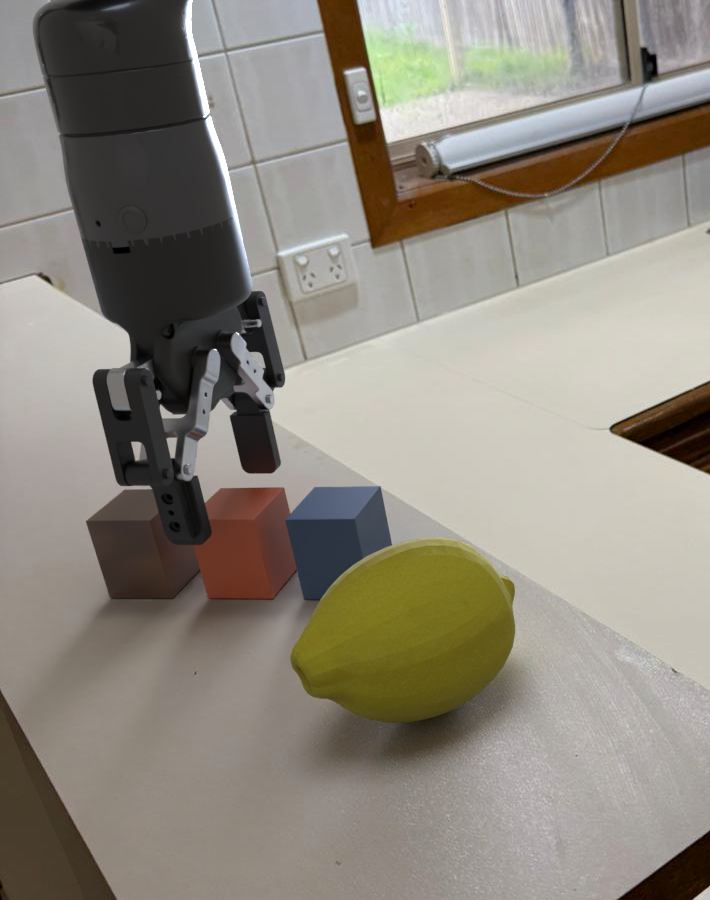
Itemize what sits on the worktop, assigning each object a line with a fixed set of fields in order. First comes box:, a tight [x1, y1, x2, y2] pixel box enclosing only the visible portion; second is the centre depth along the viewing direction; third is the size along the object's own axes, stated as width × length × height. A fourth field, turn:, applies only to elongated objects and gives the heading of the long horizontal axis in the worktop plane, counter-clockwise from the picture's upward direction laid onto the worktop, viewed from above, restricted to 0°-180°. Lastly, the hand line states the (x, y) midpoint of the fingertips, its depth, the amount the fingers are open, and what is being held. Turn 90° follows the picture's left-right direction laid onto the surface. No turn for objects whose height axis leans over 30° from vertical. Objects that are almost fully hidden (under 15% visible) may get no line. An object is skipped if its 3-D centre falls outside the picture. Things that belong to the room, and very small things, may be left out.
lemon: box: [289, 536, 516, 724], centre depth 51 cm, size 11×8×8 cm
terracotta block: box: [193, 486, 297, 600], centre depth 65 cm, size 4×4×5 cm
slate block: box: [285, 485, 393, 601], centre depth 63 cm, size 4×4×5 cm
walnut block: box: [85, 488, 200, 599], centre depth 66 cm, size 4×4×5 cm
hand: (229, 504), depth 64 cm, fingers open, 8 cm apart
